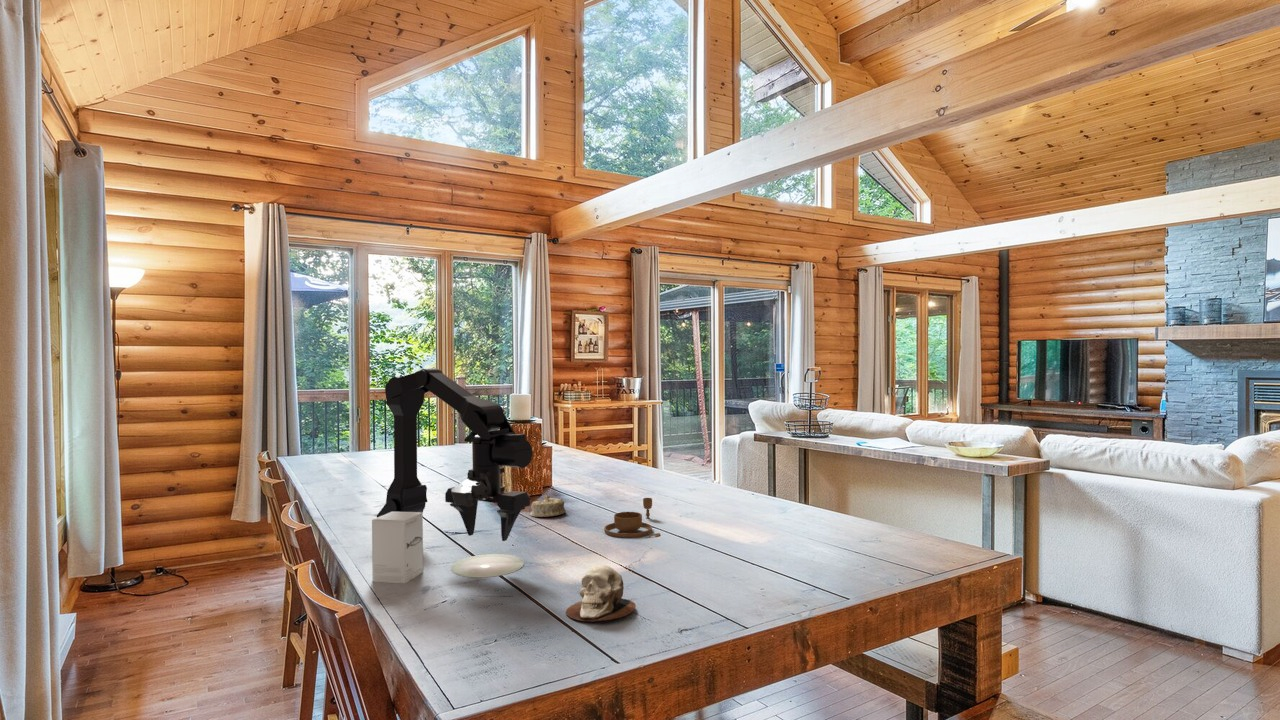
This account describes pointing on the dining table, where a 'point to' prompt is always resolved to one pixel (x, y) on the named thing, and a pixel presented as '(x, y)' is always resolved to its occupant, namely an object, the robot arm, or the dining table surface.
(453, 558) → the dining table surface
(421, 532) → the supplement box
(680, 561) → the dining table surface
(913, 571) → the dining table surface
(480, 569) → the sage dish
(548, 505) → the cake
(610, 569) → the skull
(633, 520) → the place setting
